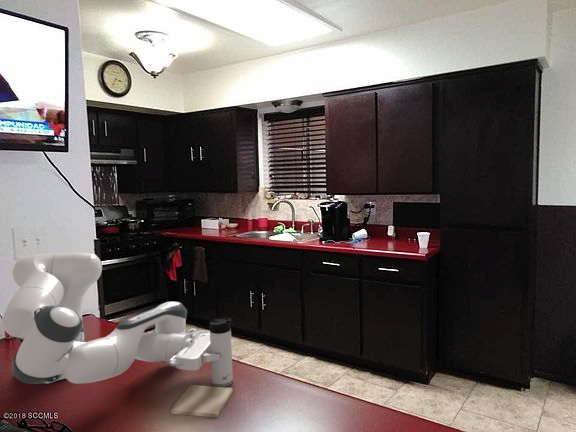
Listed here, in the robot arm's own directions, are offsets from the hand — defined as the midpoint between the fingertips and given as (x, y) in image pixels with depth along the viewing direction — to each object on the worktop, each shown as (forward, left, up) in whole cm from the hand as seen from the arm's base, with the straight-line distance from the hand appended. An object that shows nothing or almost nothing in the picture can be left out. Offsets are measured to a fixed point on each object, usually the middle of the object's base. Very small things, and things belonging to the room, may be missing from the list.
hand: (224, 351), depth 126 cm
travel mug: (-1, 0, -10) cm, 10 cm away
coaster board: (-3, -11, -10) cm, 15 cm away
